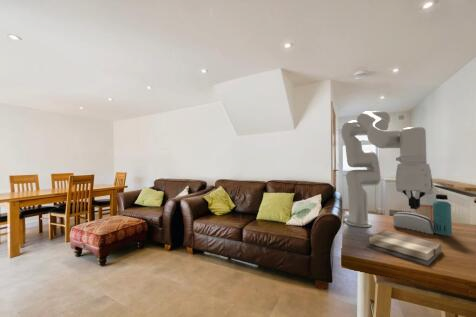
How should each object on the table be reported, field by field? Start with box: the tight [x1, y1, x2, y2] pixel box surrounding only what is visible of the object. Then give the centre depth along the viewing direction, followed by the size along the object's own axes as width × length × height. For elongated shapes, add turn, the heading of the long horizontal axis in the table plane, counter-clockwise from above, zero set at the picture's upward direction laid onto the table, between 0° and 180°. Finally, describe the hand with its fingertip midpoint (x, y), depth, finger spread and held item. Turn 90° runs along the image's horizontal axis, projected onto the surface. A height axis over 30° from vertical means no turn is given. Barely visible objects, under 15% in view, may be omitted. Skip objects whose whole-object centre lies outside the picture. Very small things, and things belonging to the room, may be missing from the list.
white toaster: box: [392, 211, 435, 235], centre depth 108 cm, size 17×5×10 cm, turn 33°
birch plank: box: [368, 233, 434, 260], centre depth 83 cm, size 19×8×2 cm, turn 34°
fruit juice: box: [415, 183, 439, 227], centre depth 114 cm, size 9×9×28 cm
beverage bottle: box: [433, 193, 453, 236], centre depth 98 cm, size 6×7×20 cm
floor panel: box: [365, 230, 442, 267], centre depth 85 cm, size 20×18×3 cm
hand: (414, 208), depth 77 cm, fingers closed
